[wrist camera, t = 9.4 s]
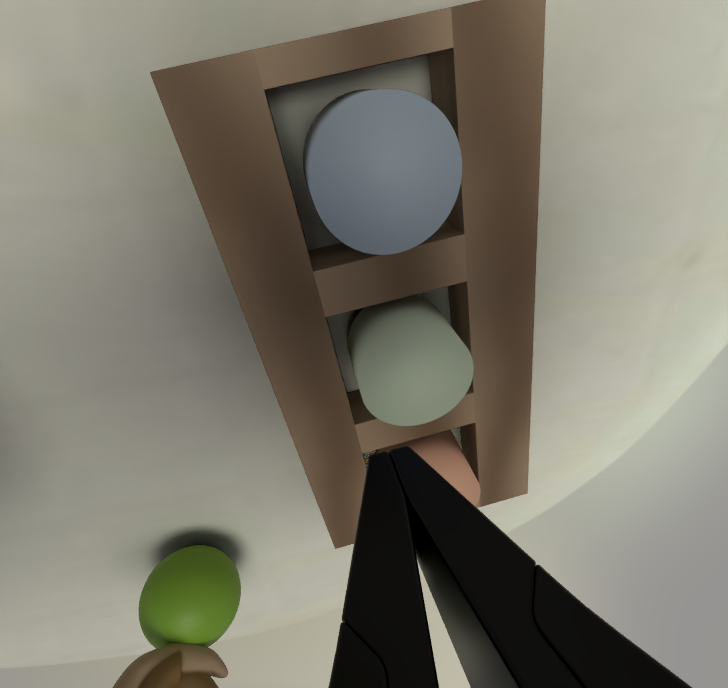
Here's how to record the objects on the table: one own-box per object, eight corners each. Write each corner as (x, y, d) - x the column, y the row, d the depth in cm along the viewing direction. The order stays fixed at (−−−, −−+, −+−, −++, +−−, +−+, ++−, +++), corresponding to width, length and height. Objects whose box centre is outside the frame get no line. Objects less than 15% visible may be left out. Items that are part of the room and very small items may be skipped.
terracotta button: (383, 490, 26) (397, 542, 23) (369, 435, 23) (383, 485, 20) (458, 469, 26) (482, 518, 23) (452, 411, 23) (478, 458, 20)
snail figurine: (154, 513, 24) (68, 817, 14) (258, 536, 27) (248, 806, 17) (122, 568, 26) (25, 872, 16) (222, 584, 29) (194, 853, 19)
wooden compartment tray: (330, 512, 27) (335, 548, 25) (168, 75, 14) (150, 72, 12) (508, 462, 28) (527, 493, 25) (507, 1, 15) (546, -14, 13)
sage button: (358, 390, 21) (371, 438, 18) (337, 307, 19) (349, 347, 16) (448, 365, 22) (475, 409, 19) (440, 281, 19) (470, 316, 16)
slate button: (320, 239, 17) (330, 269, 14) (287, 106, 15) (290, 109, 12) (433, 211, 17) (466, 235, 14) (420, 75, 15) (457, 72, 12)
